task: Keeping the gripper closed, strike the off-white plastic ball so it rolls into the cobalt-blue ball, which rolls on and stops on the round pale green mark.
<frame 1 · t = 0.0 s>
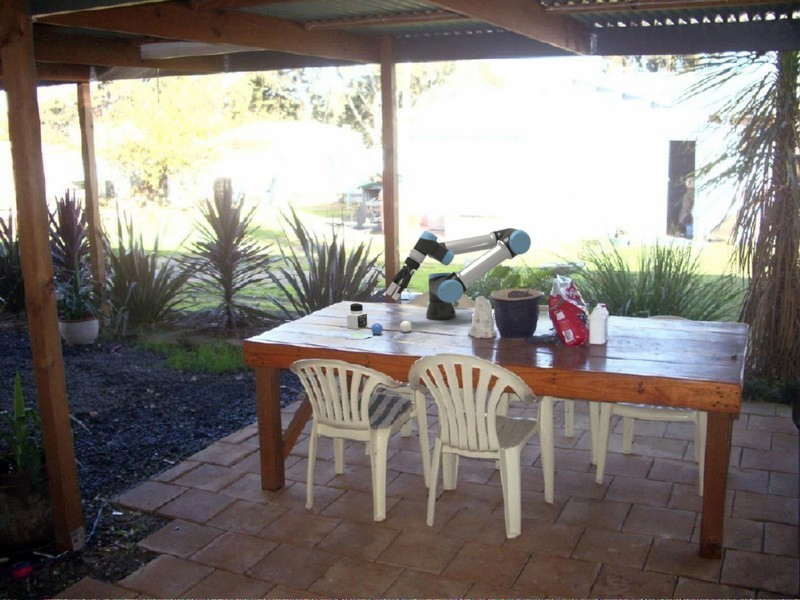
hand: (390, 296, 397), 15 cm above the table, tool tilted 35°, fingers open, 13 cm apart
object ball: (377, 328, 385), on the table
cue ball: (405, 326, 388), on the table
medicine bottle: (357, 327, 402), on the table
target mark: (358, 336, 384), on the table
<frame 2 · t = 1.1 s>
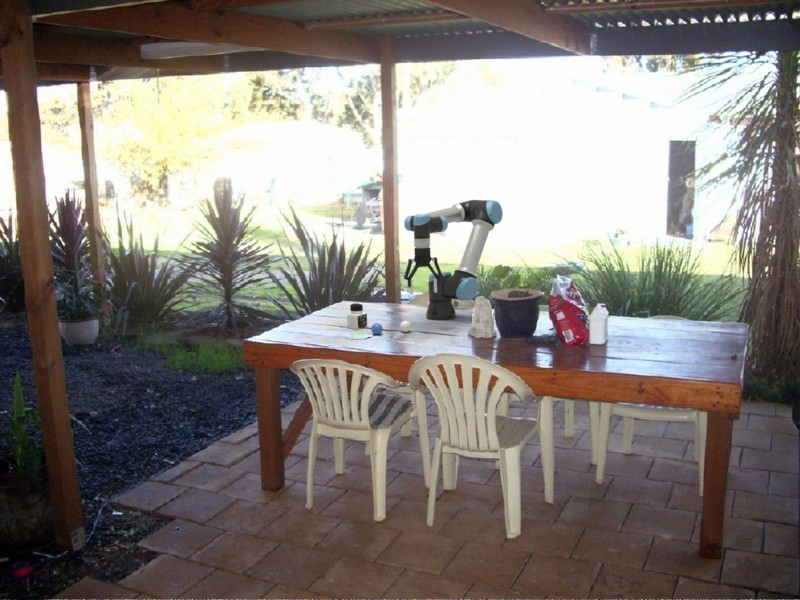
hand: (423, 293, 387), 18 cm above the table, tool pointing down, fingers open, 11 cm apart
nothing on the table moved.
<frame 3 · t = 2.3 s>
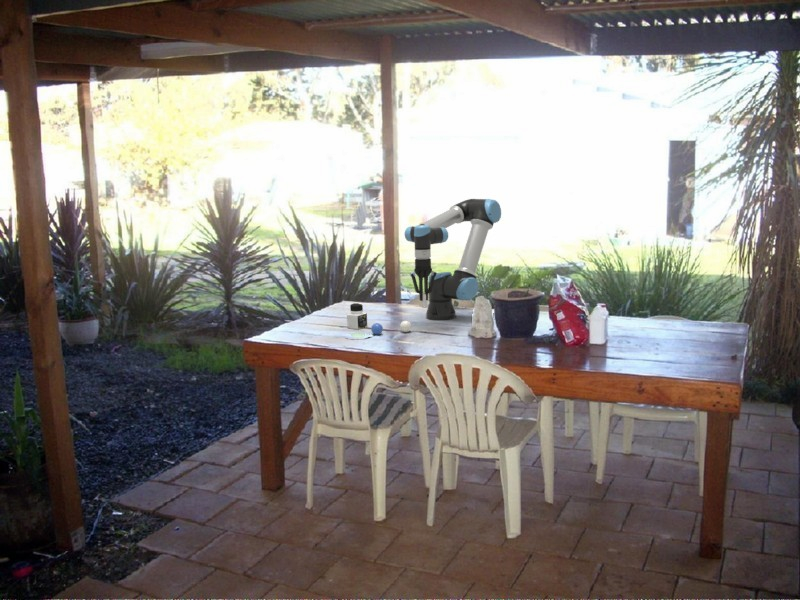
hand: (423, 307, 388), 11 cm above the table, tool pointing down, fingers closed
nothing on the table moved.
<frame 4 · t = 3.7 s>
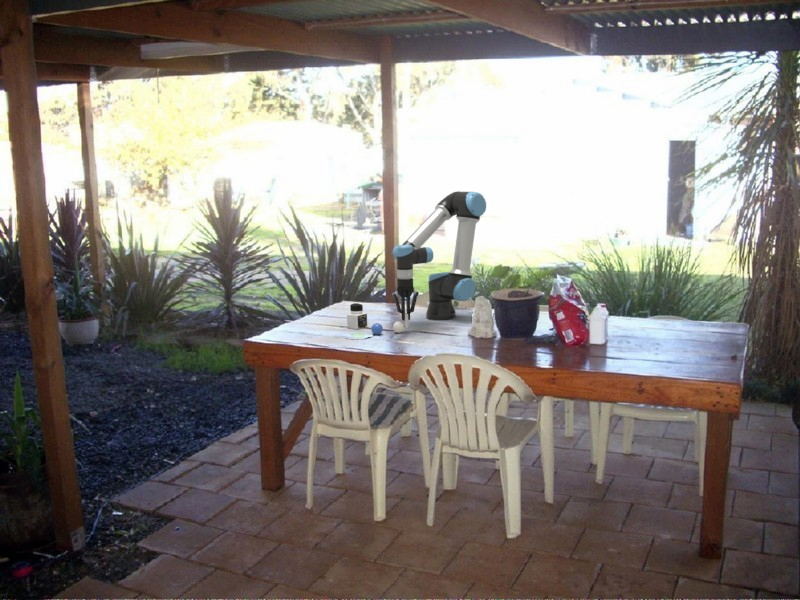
hand: (406, 327, 388), 3 cm above the table, tool pointing down, fingers closed
cue ball: (398, 327, 387), on the table
everything else where it was.
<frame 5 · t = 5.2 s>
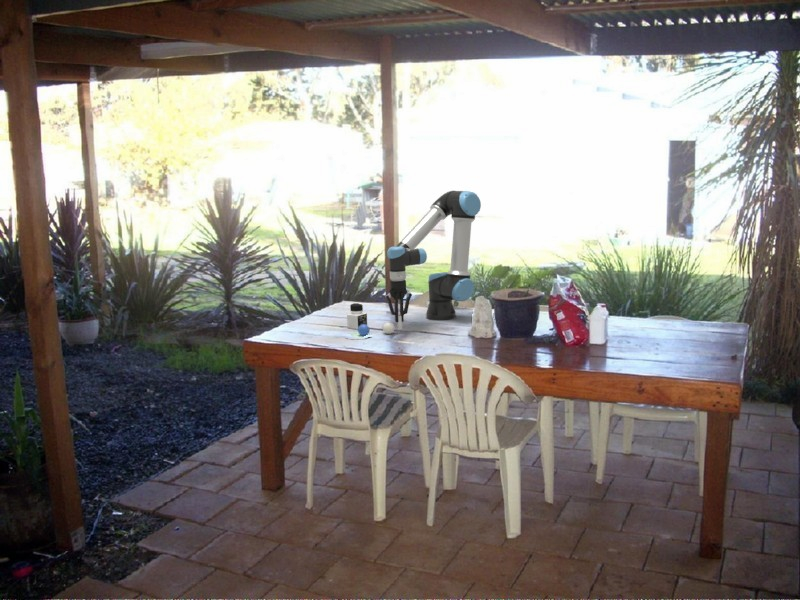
hand: (399, 328, 388), 2 cm above the table, tool pointing down, fingers closed
object ball: (363, 330, 384), on the table
cue ball: (388, 328, 386), on the table
everything else where it was.
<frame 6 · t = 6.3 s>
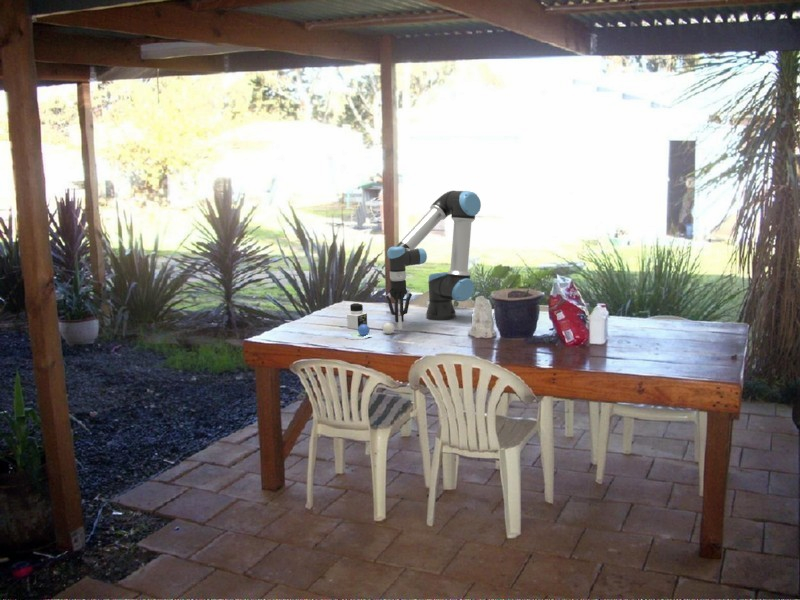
hand: (399, 328, 388), 2 cm above the table, tool pointing down, fingers closed
nothing on the table moved.
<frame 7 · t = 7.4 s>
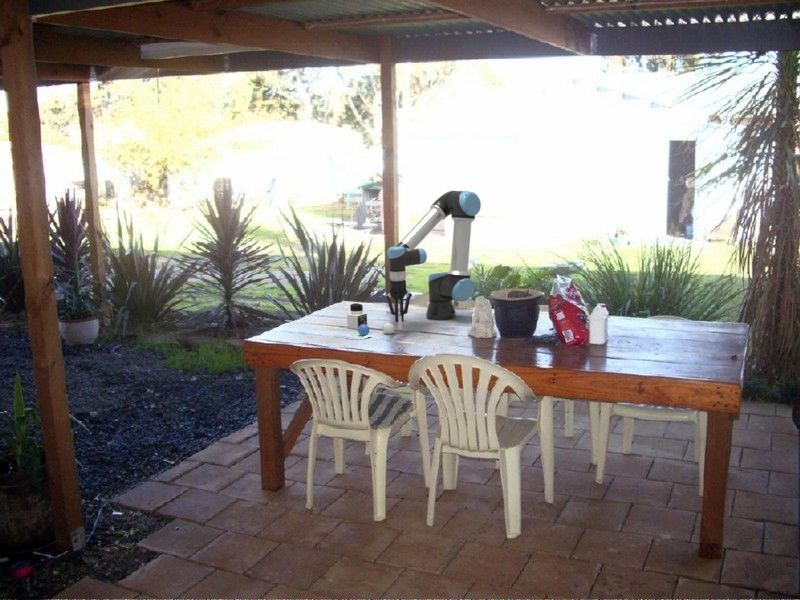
hand: (399, 328, 388), 2 cm above the table, tool pointing down, fingers closed
nothing on the table moved.
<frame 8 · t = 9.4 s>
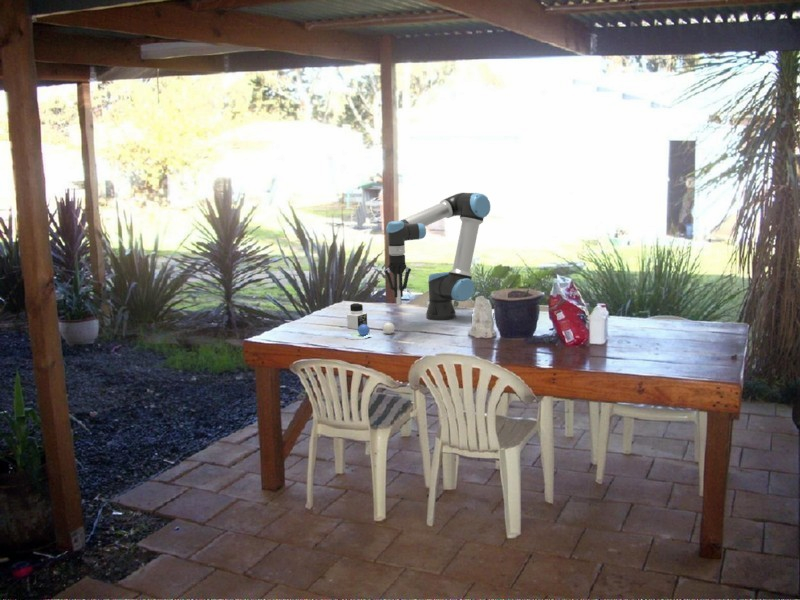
hand: (398, 303, 385), 14 cm above the table, tool pointing down, fingers closed
nothing on the table moved.
at the end: object ball 2.6 cm from the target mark (horizontally); object ball never touched the robot; cue ball first touched object ball at 3.9 s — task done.
